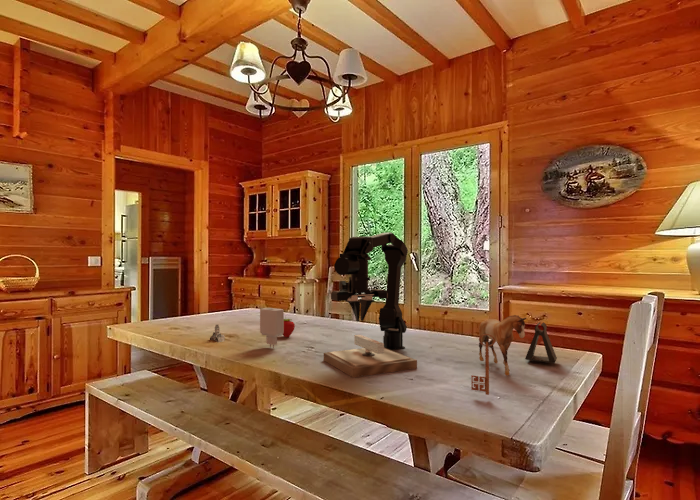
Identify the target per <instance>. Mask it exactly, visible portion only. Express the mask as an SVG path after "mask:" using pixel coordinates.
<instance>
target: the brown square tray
mask: <svg viewBox="0 0 700 500" xmlns="http://www.w3.org/2000/svg"><path fill="white" fill-rule="evenodd" d="M323 361H324V362H325V363H327V364H329V365H331V366H332V367H333V368H336V369H338V370H340V371H341V372H343V373H344V374H346V375H348V376H350V377H351V378H352V379H353V378H359V377H360V378H361V377H366V376H373V375H374V376H375V375H380V374H381V375H382V374H387V373H393V372H394V373H395V372H401V371H406V370H415V369H418V360H417V359H415V358H413V357H410V356H407V355H405V354H402V353H400V352H397V351H394V350H389V349H387V348H384V353H383V354H377V353H375V352H372V354H365V348H363V347H360V348H354V349H344V350H335V351H329V352H326V351H325V352H323Z"/></svg>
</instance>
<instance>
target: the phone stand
mask: <svg viewBox="0 0 700 500" xmlns="http://www.w3.org/2000/svg"><path fill="white" fill-rule="evenodd" d="M539 325H540V326H541V327H542V328H543V330H542V329H540V328H539ZM547 328H548V327H547V323H545V322H542V323H541V322H537V324H536V325H535V326H534V335H533V337H532V340H531V343H530V344H529V345H530V346H529V348H528V350H527V353H526V355H525V357H524V360H526V361H534V362H543V363H551V364H555V363H556V362H557V359H558V356H557V355H556V352H555V349H554V347H553V345H552V342H551V339H550V337H549V334H548V331H547ZM539 337H541V338H542V341H543V346H544V349H545V352H546V355H547V356H541V355H535V351H536V348H537V346H538V341H539Z"/></svg>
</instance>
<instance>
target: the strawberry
mask: <svg viewBox="0 0 700 500" xmlns="http://www.w3.org/2000/svg"><path fill="white" fill-rule="evenodd" d="M284 317H285V318H284V333H283V335H282V336H283V337H284V338H290V337H291V335H292V334H293V332H294V330H295V327H296V325H295V323H294V322H293V321H292V320H293V319H291V318H287V317H286V315H284Z"/></svg>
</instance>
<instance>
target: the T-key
mask: <svg viewBox="0 0 700 500" xmlns="http://www.w3.org/2000/svg"><path fill="white" fill-rule="evenodd" d="M353 338H354V345H356V346H358V347H360V348H365V354H372V352H375V353H377V354H383V353H384V343H383V342H381V341H378V340H376V339H373V338H370V337H368V336H365V335H362V334H355V335H354V337H353Z"/></svg>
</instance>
